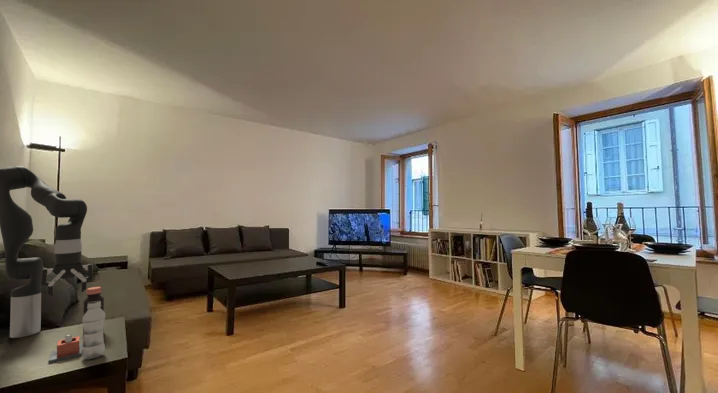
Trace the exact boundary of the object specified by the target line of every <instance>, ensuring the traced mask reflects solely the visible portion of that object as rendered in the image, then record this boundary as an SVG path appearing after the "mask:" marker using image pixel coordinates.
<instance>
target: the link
mask: <svg viewBox="0 0 718 393" xmlns="http://www.w3.org/2000/svg"><path fill="white" fill-rule="evenodd" d="M79 345H80V336H79V335H78V336H74V337H73V336H72V342H68V343H65V338H63V339H59V340H58V341H57V344H56V350H57V357H59V356H63V355H67V354H71V353H76V352H79Z"/></svg>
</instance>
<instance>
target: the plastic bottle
mask: <svg viewBox="0 0 718 393" xmlns="http://www.w3.org/2000/svg"><path fill="white" fill-rule="evenodd" d="M100 307H101V301H94V302H89V303H88V307H87V309H88V311H87V312H86V313H85V315H84V316H83V317H82V319H81V320H82V328H84V336H83V343H82V344H83V347H82V351H81V355H82V356H81V358H82V359H83V360H92V359H96V358H99V357H101V356H103V354H104V353H105V350H106V345H105V341H104V340H105V339H104V338H105V337H104V331H103V328H105V327H104V326H105V321H106V315H107V314H106V311H105V310H104V311H103V310H102V309H101V308H100Z"/></svg>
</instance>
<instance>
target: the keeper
mask: <svg viewBox="0 0 718 393" xmlns="http://www.w3.org/2000/svg"><path fill="white" fill-rule="evenodd" d="M72 338H73V334H71V333H70V334H67V335H65V336H64V339H65V343H68V342H72ZM82 347H83V343H81V344H79V352H76V353H71V354H67V355H63V356H59V357H57V349H55V350H51V351H50V353H49V357H48V360H47V362H48V363H47V364H48V365H49V364H53V363H56V362H60V361H65V360H69V359H74V358H77V357H82V355H81V351H82Z"/></svg>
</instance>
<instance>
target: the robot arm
mask: <svg viewBox="0 0 718 393" xmlns="http://www.w3.org/2000/svg"><path fill="white" fill-rule="evenodd" d="M25 188H29V189H30V196H31V198H32V199H33V200H34V201H35V202H37V203H38V204H39V205H42V206H43V207H45V208H46V210H47V211H48V213H49V214H50V215H51V216H53V217H55V218H58V219H59V218H61V219H62V218H63V219H65V218H69V219H68V221H66V222H64V223H62V224H61V223H60V224H58V225H57V226H56V228H55V244H54V267H52V268H47V267H44V261H43V259H42V258H41V257H37V256H36V257H26V258H23V257H22V258H19V252H20V250H21V249H22V247H23V246H24V245H25V243H26V242H28V240H29V239H30V238H31V237H32V236H33V233H34V224H33V218H32V216H31V214H29V212H27V210H25V209H24V208H22V207H21V206H20V205H19V204H17V203H16V202H15V201H14V200H13V199H12V196H11V193H10V191H12V190H20V189H25ZM87 211H88V206H87V203H86V202H85V201H84V200H82V199H77V198H75V199H74V198H71V199H69V198H67V196H66V195H65V194H63V193H62V192H60V191H59V190H57V189H55V188H54V187H51V186H50V185H48V184H47V183H46V182H44V180H42V179H41V178H40V176H38V175H37V174H36V173H35V172H33V171H32V170H31V169H29V167H26V166H23V165H13V166H6V167H5V166H4V167H0V233H1V238H2V244H3V248H4V262H5V263H4V264H5V275H6V278H7V279H8V280H10V281H21V280H29V282H27V283H26V284H24V285H21V286H18V287H16V288H13V289H12V290H11V291H10V313H9V314H10V316H9V317H10V318H9V322H10V323H9V325H10V326H9V338H11V339H16V338H24V337H29V336H32V335H36V334H38V333H40V332H41V326H42V325H41V322H42V321H41V320H42V318H41V317H42V286H44V287H45V286H46V287H47V295H48V296H50V297H54V290H55V289H54V288H55V286H54V284H55V283H56V282H57V281H58V280H59V279H67V278H69V279H70V278H75V277H76V278H78V279H79V280H80V281H81V293H84V292H85V291H87V282H88V281H91V280H93V279H94V278H93V266H92V264H91V263H88V264H82V255H83V254H82V251H83V247H82V246H83V245H82V244H83V243H82V226H83V224H84V221H85V218H86V214H87ZM83 269H84V270H85V271H87V274H88V275H87V276H86V277H85V276H84V275H83V274H82V273H81V271H82V270H83ZM52 272H53V273H54V275H55V276H54V277H53V278H52V280H50V281H47V280H48V275H50V274H51V273H52Z"/></svg>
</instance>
